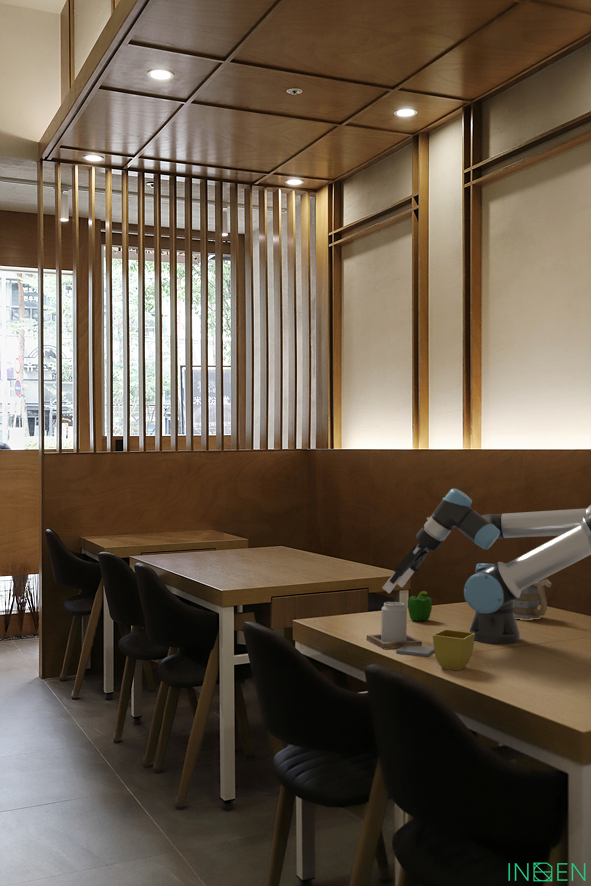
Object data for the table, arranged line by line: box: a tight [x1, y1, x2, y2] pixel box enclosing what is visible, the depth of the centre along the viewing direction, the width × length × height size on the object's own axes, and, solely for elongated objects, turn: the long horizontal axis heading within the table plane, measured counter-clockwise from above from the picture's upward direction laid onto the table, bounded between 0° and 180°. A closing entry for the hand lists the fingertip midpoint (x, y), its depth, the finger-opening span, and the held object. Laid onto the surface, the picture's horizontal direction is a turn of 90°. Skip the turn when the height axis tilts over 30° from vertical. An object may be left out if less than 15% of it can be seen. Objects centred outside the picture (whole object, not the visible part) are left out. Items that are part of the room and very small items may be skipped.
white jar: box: [380, 601, 408, 642], centre depth 247 cm, size 8×8×12 cm
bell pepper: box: [407, 591, 433, 622], centre depth 285 cm, size 8×8×10 cm
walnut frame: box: [366, 633, 423, 650], centre depth 247 cm, size 12×12×2 cm
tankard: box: [514, 578, 553, 619], centre depth 290 cm, size 20×13×15 cm, turn 25°
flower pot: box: [432, 629, 475, 672], centre depth 218 cm, size 9×9×9 cm
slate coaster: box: [395, 645, 435, 657], centre depth 236 cm, size 9×9×1 cm
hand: (392, 587), depth 255 cm, fingers open, 13 cm apart
